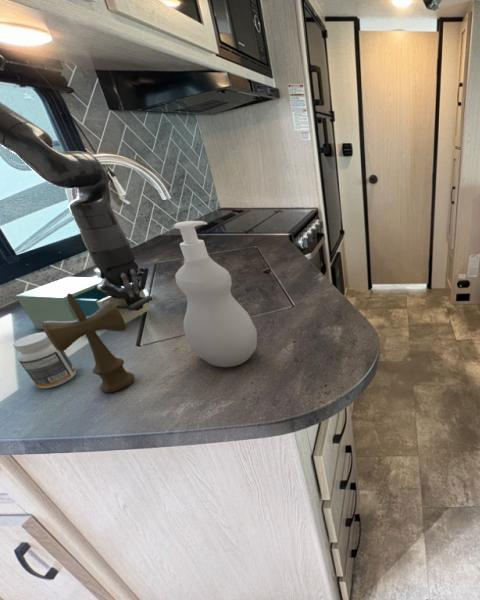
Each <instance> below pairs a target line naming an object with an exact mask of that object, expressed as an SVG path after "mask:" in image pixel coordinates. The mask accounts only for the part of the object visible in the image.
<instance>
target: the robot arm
mask: <svg viewBox="0 0 480 600" xmlns="http://www.w3.org/2000/svg"><path fill="white" fill-rule="evenodd" d="M0 146H1V147H3V148H4V149H7V150H8V151H10V152H12V153H13V154H14V155H16V156H17V157H18V158H19V159H20V160H21V161H22V162H23V163H24V164H25V165H26V166H28V168H30V169H31V170H32V171H33V172H34V173H35V174H36V175H37V176H38V177H40V178H41V179H42V180H44V181H45V182H47V183H49V184H50V185H53V186H55V187H57V188H61V189H67V190H73V189H76V190H77V197H76V198H75V199H74V200H72V201H70V203H69V204H68V209H69V212H70V215H71V216H72V218H73V220H74V222H75V224H76V226H77V228H78V230H79V233H80V236H81V239H82V242H83V243H84V245H85V248H86V249H87V252H88V254H89V256H90V257H91V260H92V262H93V263H94V266H95V267H96V268H97V269H98V270H99V272H100V275H99V276H100V277H99V278H102V281H101V282H100V284H99V285H96V286H95V289H96V290H98V291H100V292H102V293H104V294H106V295H109V296H111V297H113V298H115V299H125V301H126V303H127V305H128V306H129V305H131V304H133V303H135V302H137V301H139V300H141V297H140V295H139V294H140V291H141V290H143V291H144V290H145V289H146V285H147V282H148V281H147V279H148V276H149V271H150V270H149V268H148V267H142V266H139V265H138V263H137V262H136V257H135V255H134V252H133V250H132V248H131V246H130V243H129V241H128V238H127V235H126V234H125V232H124V230H123V228H122V227H121V224H120V223H119V220H118V218H117V216H116V213H115V210H114V209H113V207H112V204H111V191H110V185H109V178H108V174H107V171H106V169H105V167H104V166H103V164H102V163H101V162H100V160H98V158H96V156H94V155H92V154H91V153H89V152H86V151H81V150H70V151H69V150H67V151H66V150H65V151H59V150H56V149H54V148H53V147H54V141H53V138H52V137H51V136H50V134H48V133H47V132H46V131H45V130H44V129H42V128H41V127H39V126H38V125H36V124H35V123H33V122H32V121H30V120H28V119H27V118H26V117H24V116H22V115H21V114H19V113H18V112H16V111H15V110H13V109H12V108H11V107H8V106H7V105H6V104H5V103H3V102H1V101H0ZM109 283H110V284H109ZM111 284H112V285H113V286H114V287H115V289H114V288H112V287H113V286H111ZM139 284H140V285H139ZM142 308H143V305H142V306H140V307H138V308H136V309H134V310H136V311H138V310H140V309H142Z"/></svg>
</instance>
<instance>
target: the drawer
mask: <svg viewBox="0 0 480 600" xmlns="http://www.w3.org/2000/svg"><path fill="white" fill-rule="evenodd" d="M139 285H140V283H139ZM111 286H113V285H112V284H111ZM112 288H114V289H115V287H114V286H113V287H112ZM139 295H140V297H141V300H139V301H137V302H135V303H133V304H131V305H129V306H128V305H127V303H126V301H125V299H115V298H113V297H111V296H109V295H106V294H104V293H102V292H100V291H98V290H96V289H95V288H93V289H91V290H89V291H86V292H84V293H81V294H79V295H77V296H74V298H75V300H76V302H77V303H78V305H79V306H80V308H81V310H82V311H83V313H84V315H85V316H86V317H88V316H91V315H93V314H94V313H96V312H97V311H98V310H99V309H100V308H101V307H102V306H103V305H104V304H105V303H106V302H107V301H110V302H112V303H113V304H114V305H115V306H116V307H117V309H118V310H119V312H120V314H121V315H122V317H123V319H124V322H125V324H127V323H128V322H129V323H130V321H132V320H134V319H136V318H137V317H139V316H141V315H143V314H145V313H147V312H148V311H149V310H152V308H151V305H150V303H149V302H151V301H153V297H152V296H151V295H146V294H145V292H144V290H141V291H140V294H139ZM67 300H68V301H69V299H67ZM69 303H70V301H69ZM70 305H71V303H70ZM142 305H143V308H142V309H140V310H138V311H136V310H134V309H136V308H138V307H140V306H142ZM71 307H72V305H71ZM72 308H73V307H72ZM73 310H74V309H73ZM74 312H75V311H74ZM75 314H76V313H75Z"/></svg>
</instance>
